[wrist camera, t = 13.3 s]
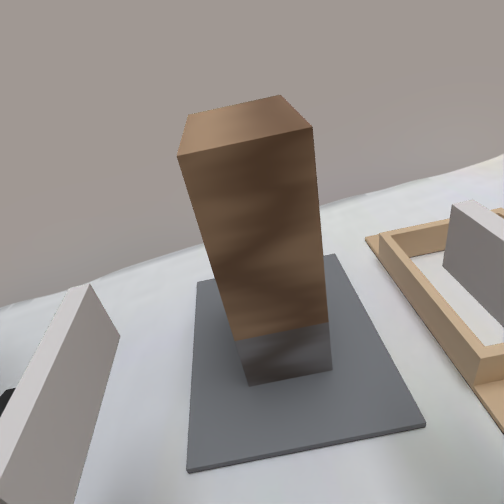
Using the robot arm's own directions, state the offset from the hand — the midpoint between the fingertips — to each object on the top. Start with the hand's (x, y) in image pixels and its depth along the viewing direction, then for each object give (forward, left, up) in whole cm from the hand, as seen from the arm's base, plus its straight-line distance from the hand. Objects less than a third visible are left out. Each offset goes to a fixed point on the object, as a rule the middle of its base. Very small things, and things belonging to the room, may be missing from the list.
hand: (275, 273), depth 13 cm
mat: (0, +6, -10) cm, 12 cm away
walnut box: (0, +6, -10) cm, 11 cm away
